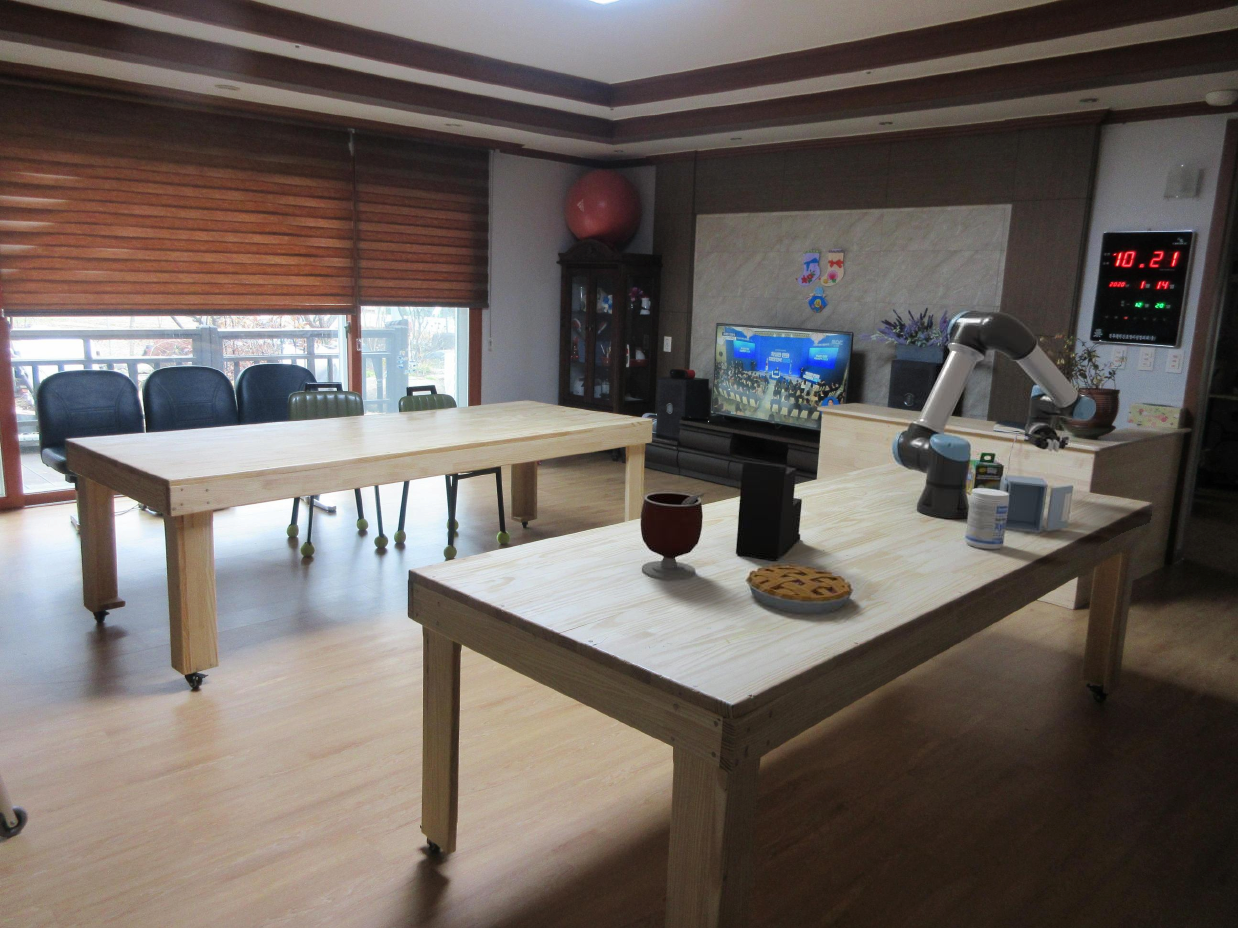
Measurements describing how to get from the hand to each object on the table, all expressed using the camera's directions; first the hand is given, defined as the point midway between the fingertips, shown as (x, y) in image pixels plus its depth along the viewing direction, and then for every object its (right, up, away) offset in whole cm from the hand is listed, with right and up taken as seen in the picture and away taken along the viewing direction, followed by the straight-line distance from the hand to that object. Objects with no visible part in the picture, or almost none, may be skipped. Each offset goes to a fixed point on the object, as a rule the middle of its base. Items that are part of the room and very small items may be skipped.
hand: (1054, 447), depth 266 cm
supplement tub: (-33, -27, -30) cm, 52 cm away
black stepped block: (-93, -27, -41) cm, 105 cm away
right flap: (-5, -24, -12) cm, 27 cm away
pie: (-93, -34, -78) cm, 126 cm away
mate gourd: (-119, -30, -65) cm, 139 cm away
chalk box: (-8, -16, +33) cm, 37 cm away
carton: (-14, -23, -8) cm, 28 cm away
